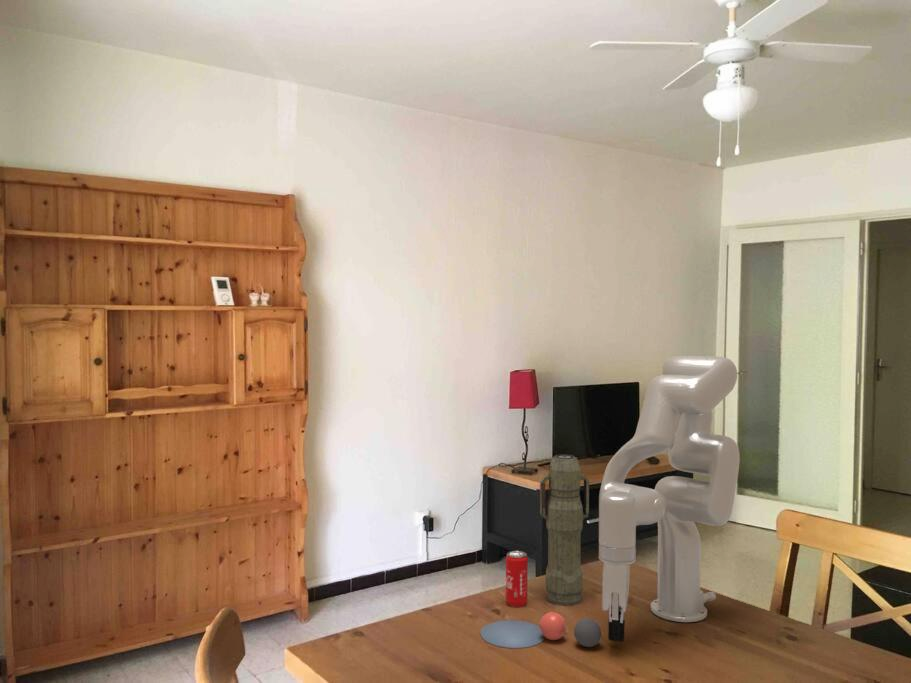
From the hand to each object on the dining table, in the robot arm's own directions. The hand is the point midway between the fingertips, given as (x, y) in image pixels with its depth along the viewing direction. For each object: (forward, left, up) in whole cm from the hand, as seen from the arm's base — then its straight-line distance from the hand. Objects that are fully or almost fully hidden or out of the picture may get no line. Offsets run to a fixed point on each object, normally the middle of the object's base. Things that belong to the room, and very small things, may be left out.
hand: (616, 639), depth 153 cm
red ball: (+10, -9, +1) cm, 13 cm away
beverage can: (+8, -29, -2) cm, 30 cm away
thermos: (-4, -27, -2) cm, 28 cm away
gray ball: (+5, -3, +1) cm, 6 cm away
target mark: (+17, -14, -2) cm, 22 cm away
